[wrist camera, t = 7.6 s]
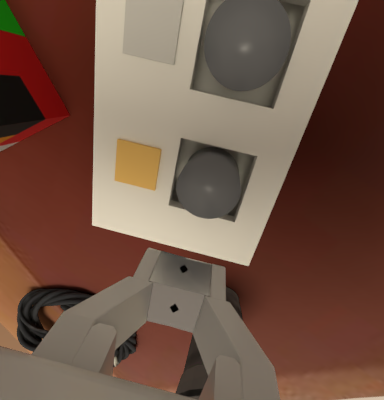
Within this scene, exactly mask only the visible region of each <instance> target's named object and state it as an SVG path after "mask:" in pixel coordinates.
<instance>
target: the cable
mask: <svg viewBox="0 0 384 400" xmlns="http://www.w3.org/2000/svg"><path fill="white" fill-rule="evenodd" d="M90 297H92V295H89V294H84V293H80V292H77V291H74V290H67V289H66V290H64V289H37V290H33V291H31V292H29V293H27V294H26V295H25V296H24V297H23V298H22V299H21V301H20V303H19V305H18V316H17V322H18V328H17V337H18V340H19V342H20V344H21V345H22V346H23V347H24V348H26V349H28V350H30V351H33V352H34V351H35V349H36V348H37V347H38V345H39V344H40V343H41V341H42V339H41V338H43V339H44V337H45V336H46V335H47V333H48V332H49V331H48V330H44V328H43V326H42V324H41V322H40V320H39V317H38V311H39V308H40V307H42V306H54V305H61V306H60V307H61V308H62V309H63V310H64V311H66V310H68V309H69V308H71V307H73V306H75V305H77V304H79V303H81V302H82V301H84V300H86V299H88V298H90ZM32 305H33V306H32ZM135 335H136V332H135V333H133V334H132V335H131V336H130V337H129V338H128V339H127V340H126V341H125V342H124V343H122V344H121V345H120V346H119V347H118V348H117V349H116V350H115V354H114V364H113V367H116V366H117V365H118V364H119V363H120V362H121V360H124V359H126V358H127V357H128V356H129V354H132V353H134V352H135V351H136V347H135V344H136V340H135V338H134V337H135Z"/></svg>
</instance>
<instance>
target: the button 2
mask: <svg viewBox="0 0 384 400" xmlns="http://www.w3.org/2000/svg"><path fill="white" fill-rule="evenodd" d="M176 192H177V196H178V199H179V201H180V203H181V205H182V206H183V207H184V208H185V209H186V210H187V211H188V212H189V213H191V214H193V215H195V216H197V217H200V218H205V219H214V218H219V217H222V216H224V215H226V214H228V213H229V212H231V211H232V210H233V209H234V207H235V206H236V205H237V203H238V201H239V199H240V195H241V184H240V176H239V169H238V165H237V162H236V160H235V159H234V158H233V156H232V155H231V154H230V153H228V152H227V151H225V150H223V149H220V148H217V147H206V148H203V149H200V150H198V151H196V152H195V153H194V154H193V155H192V156H191V157H190V158H189V160H188V161H187V163H186V165H185V166H184V168H183V170H182V171H181V173H180V175H179V177H178V180H177V184H176Z"/></svg>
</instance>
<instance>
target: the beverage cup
mask: <svg viewBox="0 0 384 400" xmlns="http://www.w3.org/2000/svg"><path fill="white" fill-rule="evenodd" d="M226 301H227V302H230V303H231V305H232V306H233V308H234V309H235V310H236V312H237V313H238V315H239V316H240V318H241V319H242V313H241V308H240V304H239V298H238V296H237V294H236V293H235V292H234V291H233V290H232V289H230V288H228V287H226ZM242 321H243V319H242ZM207 378H208V374H207V371H206V369H205V366H204V363H203V360H202V358H201V355H200V352H199V350H198V347H197V344H196V341H195V339H194V336H193V335H192V339H191V344H190V348H189V352H188V356H187V360H186V364H185V368H184V373H183V374H182V376H181V379H180V382H179V385H178V387H177V391H176V394H179V395H183V396H187V397H191V398H194V399H199V397H200V395H201V392H202V390H203V388H204V385H205V383H206V381H207Z"/></svg>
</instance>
